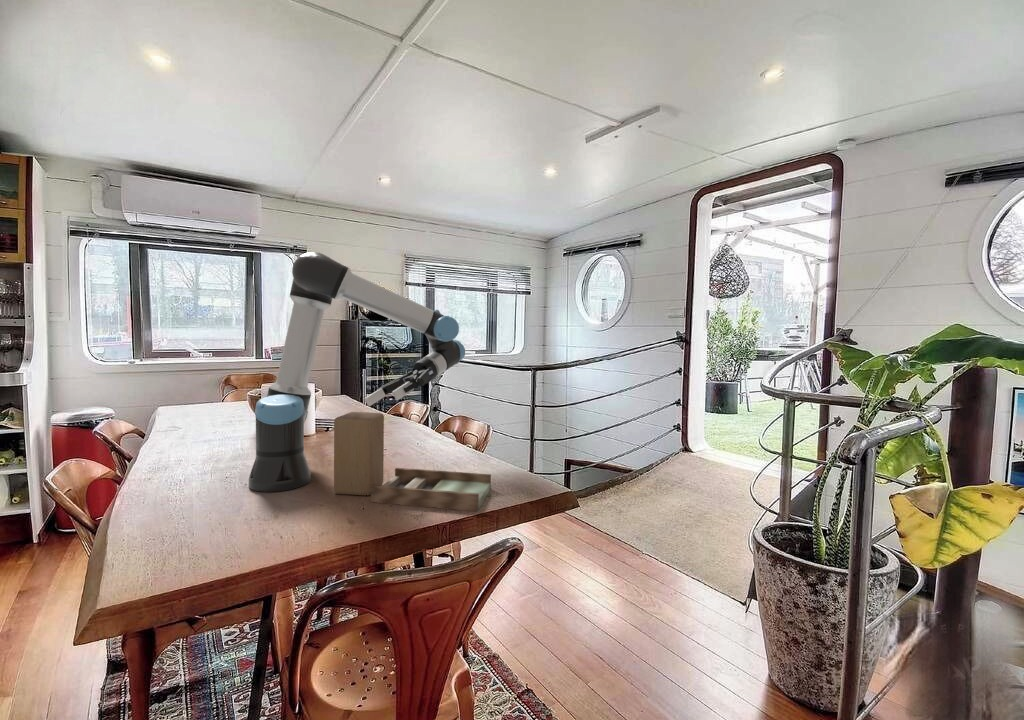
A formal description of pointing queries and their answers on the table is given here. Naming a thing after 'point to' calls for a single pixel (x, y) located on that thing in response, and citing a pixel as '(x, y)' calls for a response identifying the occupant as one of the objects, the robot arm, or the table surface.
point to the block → (358, 452)
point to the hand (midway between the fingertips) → (380, 399)
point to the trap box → (434, 489)
